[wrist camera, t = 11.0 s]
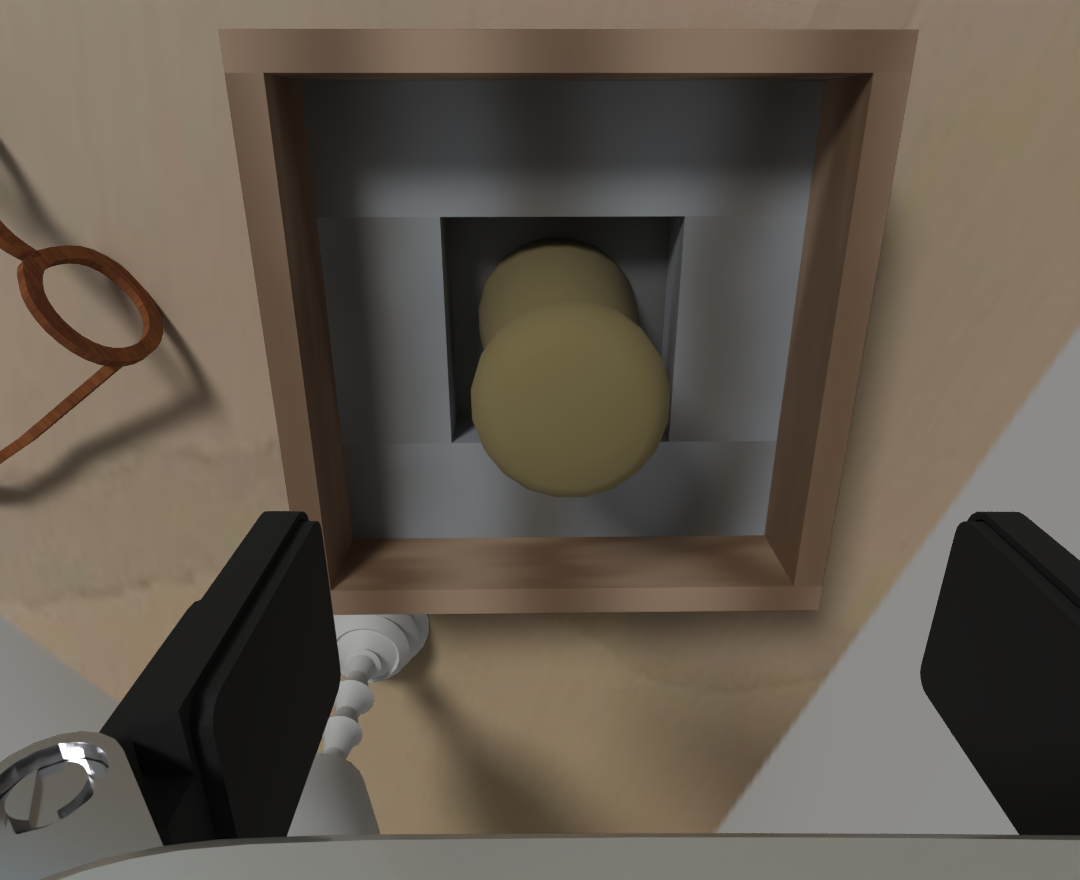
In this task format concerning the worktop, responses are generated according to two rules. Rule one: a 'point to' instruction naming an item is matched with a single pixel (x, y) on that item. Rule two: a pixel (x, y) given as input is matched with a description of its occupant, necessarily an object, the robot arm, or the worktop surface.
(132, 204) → the worktop surface
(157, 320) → the glasses
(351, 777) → the chalice
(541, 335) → the cork
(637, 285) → the wooden box
